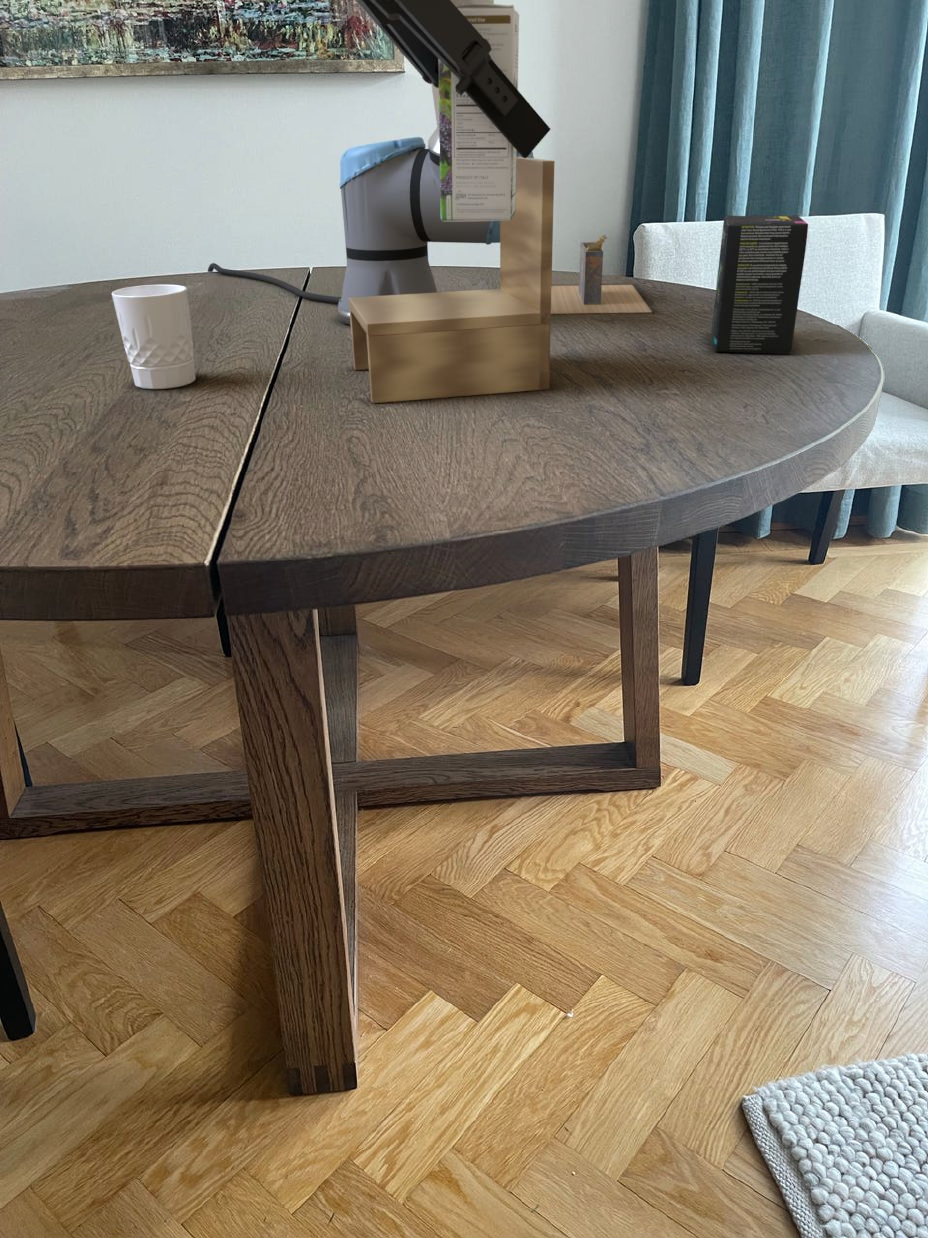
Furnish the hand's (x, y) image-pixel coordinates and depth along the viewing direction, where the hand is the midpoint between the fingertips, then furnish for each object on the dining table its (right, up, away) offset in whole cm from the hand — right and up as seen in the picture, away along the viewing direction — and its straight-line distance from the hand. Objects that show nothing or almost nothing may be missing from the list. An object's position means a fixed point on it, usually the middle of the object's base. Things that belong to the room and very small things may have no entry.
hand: (522, 141), depth 74 cm
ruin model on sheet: (+15, +13, +74) cm, 77 cm away
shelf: (-7, -11, +31) cm, 33 cm away
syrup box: (-3, -5, +2) cm, 7 cm away
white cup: (-39, -11, +32) cm, 51 cm away
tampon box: (+31, -4, +43) cm, 53 cm away
